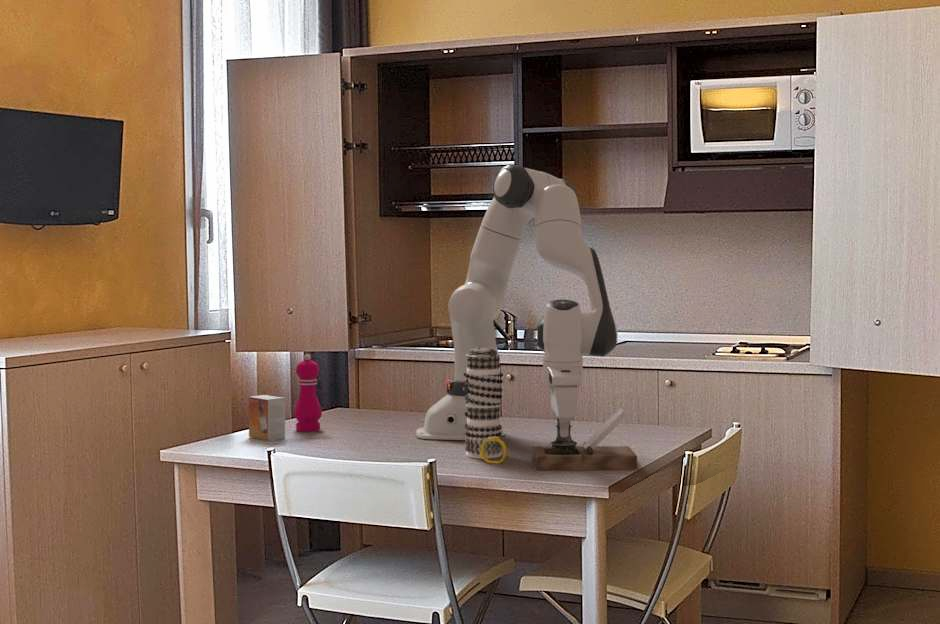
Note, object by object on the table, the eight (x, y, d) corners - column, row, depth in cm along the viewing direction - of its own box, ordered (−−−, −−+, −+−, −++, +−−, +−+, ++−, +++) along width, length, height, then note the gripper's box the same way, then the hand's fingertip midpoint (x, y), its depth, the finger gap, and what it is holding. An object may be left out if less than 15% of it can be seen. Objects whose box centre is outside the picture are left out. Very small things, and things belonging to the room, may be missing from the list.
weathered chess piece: (577, 456, 273) (577, 403, 272) (576, 461, 267) (576, 407, 266) (551, 456, 273) (551, 403, 272) (550, 461, 267) (550, 407, 267)
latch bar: (589, 453, 267) (585, 449, 267) (586, 448, 272) (582, 445, 272) (627, 414, 267) (623, 411, 267) (624, 411, 272) (620, 407, 272)
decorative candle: (500, 459, 276) (500, 350, 274) (460, 458, 278) (460, 350, 276) (506, 452, 285) (506, 346, 283) (467, 451, 287) (467, 346, 285)
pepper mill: (289, 431, 315) (288, 355, 314) (303, 426, 322) (302, 352, 321) (313, 432, 313) (312, 356, 311) (326, 428, 319) (326, 353, 318)
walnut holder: (536, 470, 264) (536, 450, 263) (532, 459, 276) (532, 440, 275) (636, 469, 264) (637, 449, 264) (628, 459, 276) (628, 440, 276)
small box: (248, 437, 306) (247, 396, 305) (266, 434, 310) (265, 394, 309) (268, 441, 300) (267, 399, 300) (285, 438, 305) (285, 397, 304)
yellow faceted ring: (479, 464, 272) (478, 438, 272) (484, 462, 275) (483, 436, 275) (504, 464, 270) (502, 438, 270) (509, 462, 272) (507, 436, 272)
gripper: (544, 367, 279) (544, 427, 280) (553, 379, 258) (553, 442, 259) (571, 367, 279) (571, 426, 280) (582, 378, 259) (582, 442, 260)
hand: (562, 434), depth 270 cm, fingers closed on weathered chess piece, 3 cm apart
